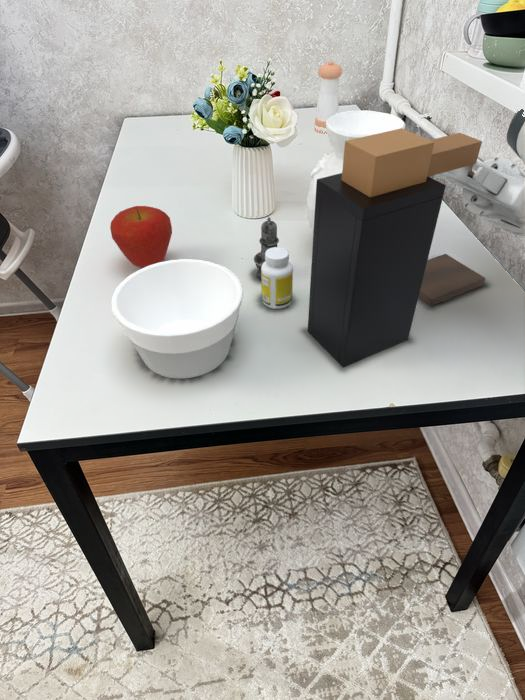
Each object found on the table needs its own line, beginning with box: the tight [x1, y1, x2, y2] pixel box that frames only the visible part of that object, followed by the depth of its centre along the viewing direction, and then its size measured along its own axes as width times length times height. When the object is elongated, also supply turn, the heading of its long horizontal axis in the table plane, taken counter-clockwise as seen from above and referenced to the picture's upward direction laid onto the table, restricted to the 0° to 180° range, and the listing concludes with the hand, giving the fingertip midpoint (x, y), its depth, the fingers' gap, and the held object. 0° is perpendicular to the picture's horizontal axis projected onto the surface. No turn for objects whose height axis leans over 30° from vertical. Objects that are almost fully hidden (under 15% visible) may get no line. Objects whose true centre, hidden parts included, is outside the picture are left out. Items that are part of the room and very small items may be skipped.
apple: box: [109, 205, 173, 269], centre depth 93 cm, size 11×11×12 cm
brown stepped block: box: [341, 128, 483, 198], centre depth 63 cm, size 6×19×5 cm, turn 119°
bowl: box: [110, 258, 244, 380], centre depth 75 cm, size 19×19×11 cm
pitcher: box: [306, 109, 406, 234], centre depth 92 cm, size 19×18×25 cm
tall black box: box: [307, 173, 447, 368], centre depth 72 cm, size 10×13×26 cm
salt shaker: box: [314, 60, 343, 135], centre depth 148 cm, size 7×7×19 cm
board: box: [418, 253, 486, 307], centre depth 91 cm, size 10×13×2 cm
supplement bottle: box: [261, 246, 294, 310], centre depth 85 cm, size 5×5×10 cm
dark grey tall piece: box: [253, 216, 280, 282], centre depth 90 cm, size 6×6×12 cm
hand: (447, 160), depth 67 cm, fingers open, 8 cm apart
